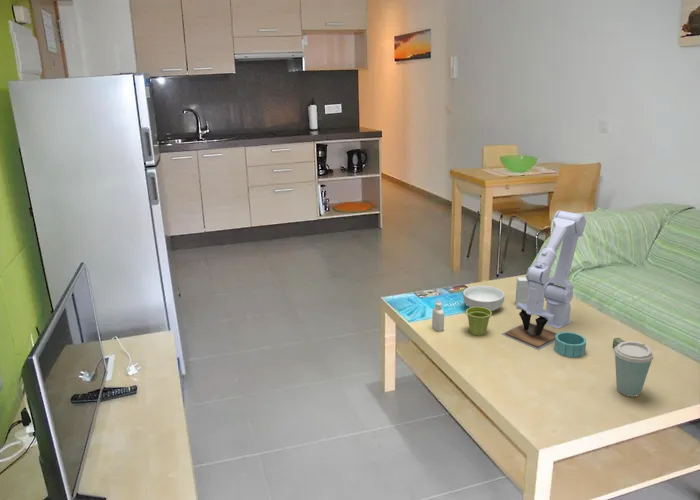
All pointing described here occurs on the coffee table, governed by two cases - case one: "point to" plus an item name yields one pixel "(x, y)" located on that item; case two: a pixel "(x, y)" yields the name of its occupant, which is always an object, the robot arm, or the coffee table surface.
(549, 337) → the walnut lid
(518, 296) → the skincare box
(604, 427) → the coffee table surface
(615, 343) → the medication box
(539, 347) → the rubber mat
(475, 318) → the plant pot
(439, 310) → the eye dropper bottle
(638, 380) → the disposable coffee cup
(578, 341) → the teal bowl
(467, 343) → the coffee table surface
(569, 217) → the robot arm
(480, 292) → the cereal bowl
